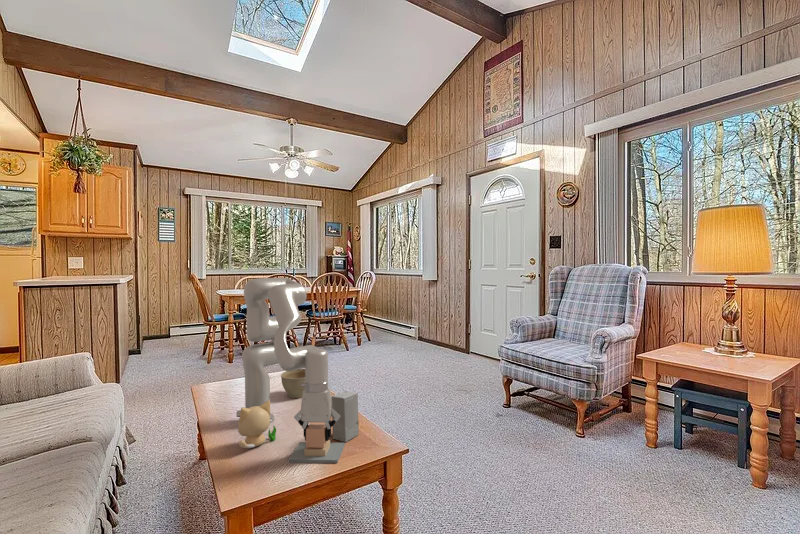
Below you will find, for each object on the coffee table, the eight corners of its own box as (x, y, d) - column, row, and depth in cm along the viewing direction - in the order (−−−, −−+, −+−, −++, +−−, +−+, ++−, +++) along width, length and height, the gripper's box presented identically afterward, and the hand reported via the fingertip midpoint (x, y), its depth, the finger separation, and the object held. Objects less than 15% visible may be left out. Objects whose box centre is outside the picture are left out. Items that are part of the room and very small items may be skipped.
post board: (288, 462, 123) (288, 442, 123) (300, 444, 135) (299, 426, 135) (337, 463, 122) (337, 443, 122) (344, 445, 134) (344, 427, 134)
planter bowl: (279, 392, 191) (278, 371, 191) (311, 388, 198) (311, 367, 198) (283, 403, 176) (283, 379, 176) (318, 397, 183) (317, 375, 183)
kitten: (270, 433, 144) (269, 394, 144) (282, 442, 137) (281, 401, 137) (229, 446, 134) (229, 404, 134) (240, 457, 127) (239, 412, 127)
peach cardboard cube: (306, 447, 126) (306, 429, 126) (311, 439, 132) (311, 421, 132) (323, 447, 125) (323, 429, 125) (328, 439, 131) (328, 422, 131)
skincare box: (345, 443, 136) (345, 399, 136) (330, 438, 139) (330, 395, 139) (360, 434, 143) (359, 392, 143) (345, 430, 147) (345, 389, 147)
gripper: (287, 389, 125) (288, 444, 125) (339, 390, 124) (340, 444, 124) (295, 382, 133) (296, 433, 133) (344, 383, 132) (344, 434, 132)
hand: (317, 438), depth 128 cm, fingers open, 6 cm apart
